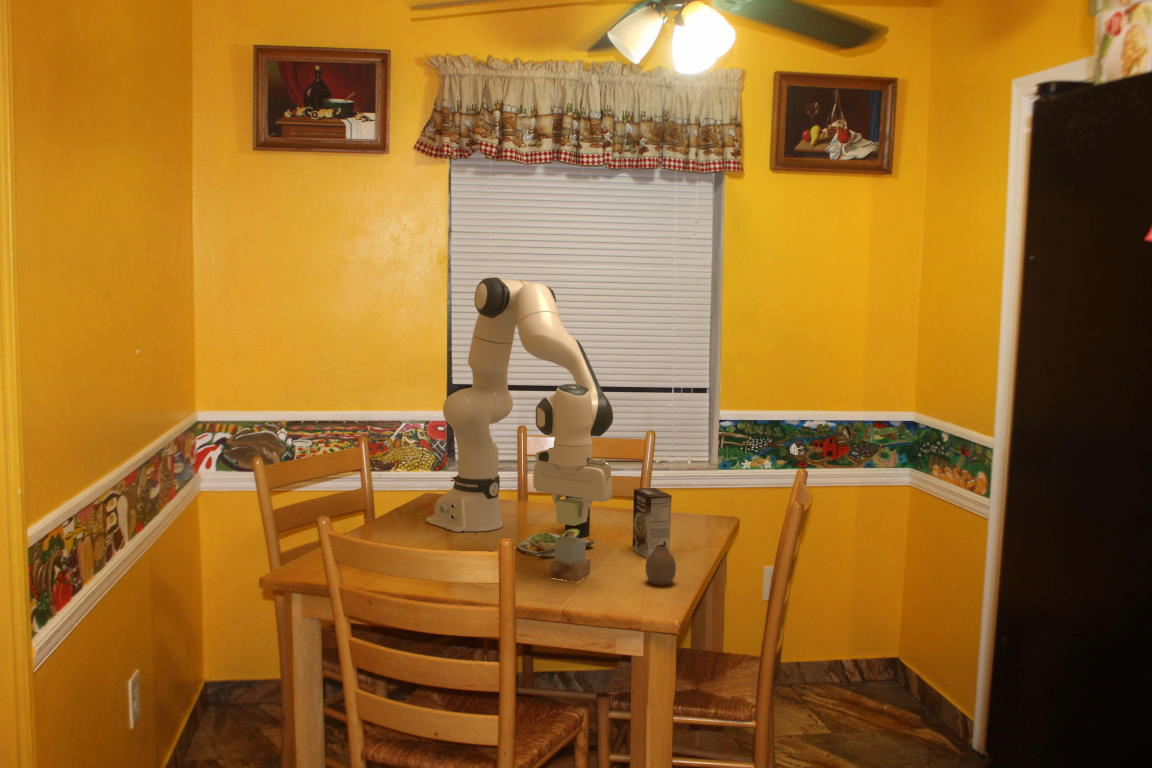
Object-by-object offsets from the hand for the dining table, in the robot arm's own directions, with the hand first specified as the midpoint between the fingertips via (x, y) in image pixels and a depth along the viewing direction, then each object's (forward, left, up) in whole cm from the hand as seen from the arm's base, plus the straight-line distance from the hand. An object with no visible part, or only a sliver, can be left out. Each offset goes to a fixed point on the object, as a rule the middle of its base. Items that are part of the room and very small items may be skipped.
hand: (571, 515), depth 215 cm
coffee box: (+5, +28, -15) cm, 32 cm away
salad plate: (-17, +17, -15) cm, 28 cm away
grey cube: (0, 0, -11) cm, 11 cm away
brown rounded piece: (+19, +9, -15) cm, 25 cm away
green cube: (0, 0, -2) cm, 2 cm away
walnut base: (0, 0, -15) cm, 15 cm away
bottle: (-20, +31, -15) cm, 40 cm away
